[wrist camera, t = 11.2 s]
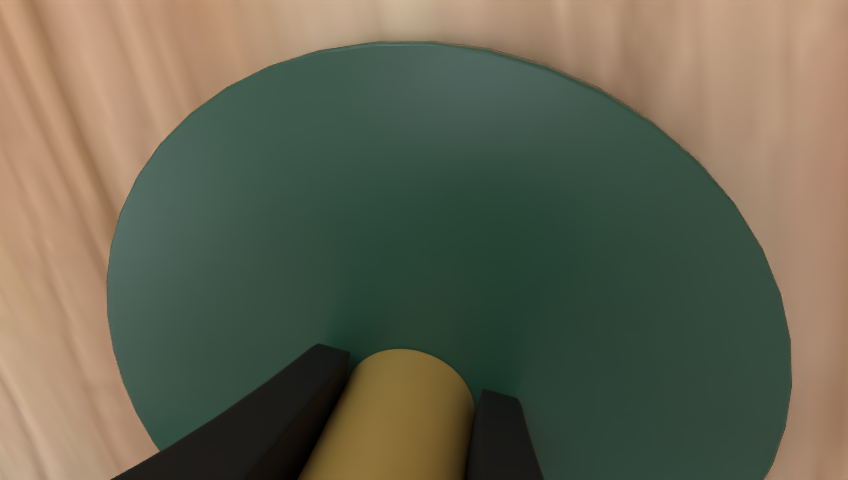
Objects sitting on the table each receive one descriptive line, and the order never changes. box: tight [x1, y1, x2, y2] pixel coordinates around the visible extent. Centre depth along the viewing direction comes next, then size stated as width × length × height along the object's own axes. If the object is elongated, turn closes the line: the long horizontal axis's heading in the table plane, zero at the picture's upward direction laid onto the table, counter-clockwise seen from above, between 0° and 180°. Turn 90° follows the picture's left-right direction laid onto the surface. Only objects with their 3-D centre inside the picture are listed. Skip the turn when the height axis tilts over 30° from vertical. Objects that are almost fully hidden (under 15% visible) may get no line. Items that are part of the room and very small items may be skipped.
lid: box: [107, 41, 792, 480], centre depth 8 cm, size 12×12×5 cm
